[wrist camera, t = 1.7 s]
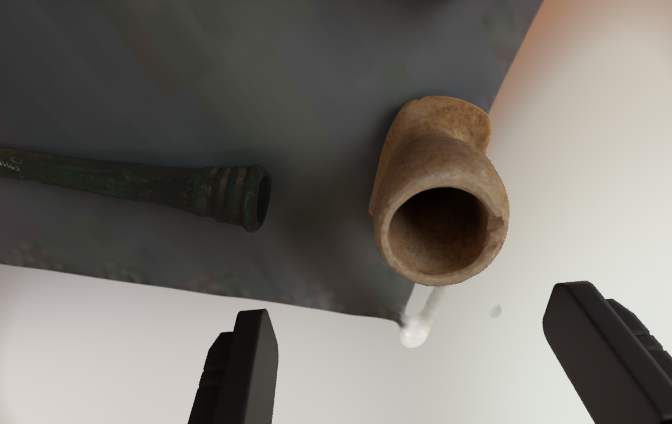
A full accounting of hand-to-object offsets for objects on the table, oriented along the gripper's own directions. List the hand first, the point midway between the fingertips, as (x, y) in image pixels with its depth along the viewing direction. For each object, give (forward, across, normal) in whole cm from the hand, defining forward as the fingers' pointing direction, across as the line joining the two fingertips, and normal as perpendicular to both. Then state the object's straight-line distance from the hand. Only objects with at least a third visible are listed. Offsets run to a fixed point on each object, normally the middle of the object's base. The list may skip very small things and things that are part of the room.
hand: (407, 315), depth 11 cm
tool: (+27, +23, +8) cm, 36 cm away
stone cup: (+27, -6, +10) cm, 29 cm away
